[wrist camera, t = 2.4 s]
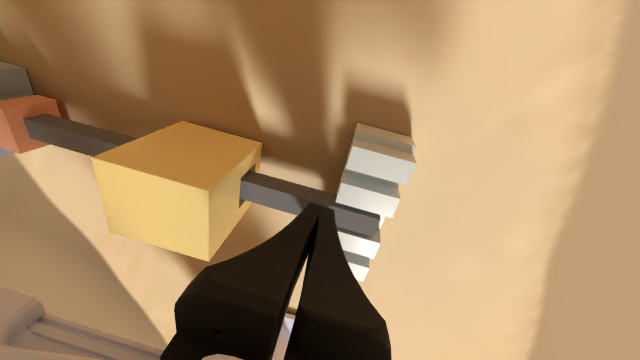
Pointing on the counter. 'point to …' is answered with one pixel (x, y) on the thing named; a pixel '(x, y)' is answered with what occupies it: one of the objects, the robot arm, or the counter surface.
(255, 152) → the sleeve
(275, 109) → the counter surface
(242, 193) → the red-tipped gray rod
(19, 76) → the block
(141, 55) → the counter surface
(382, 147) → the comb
